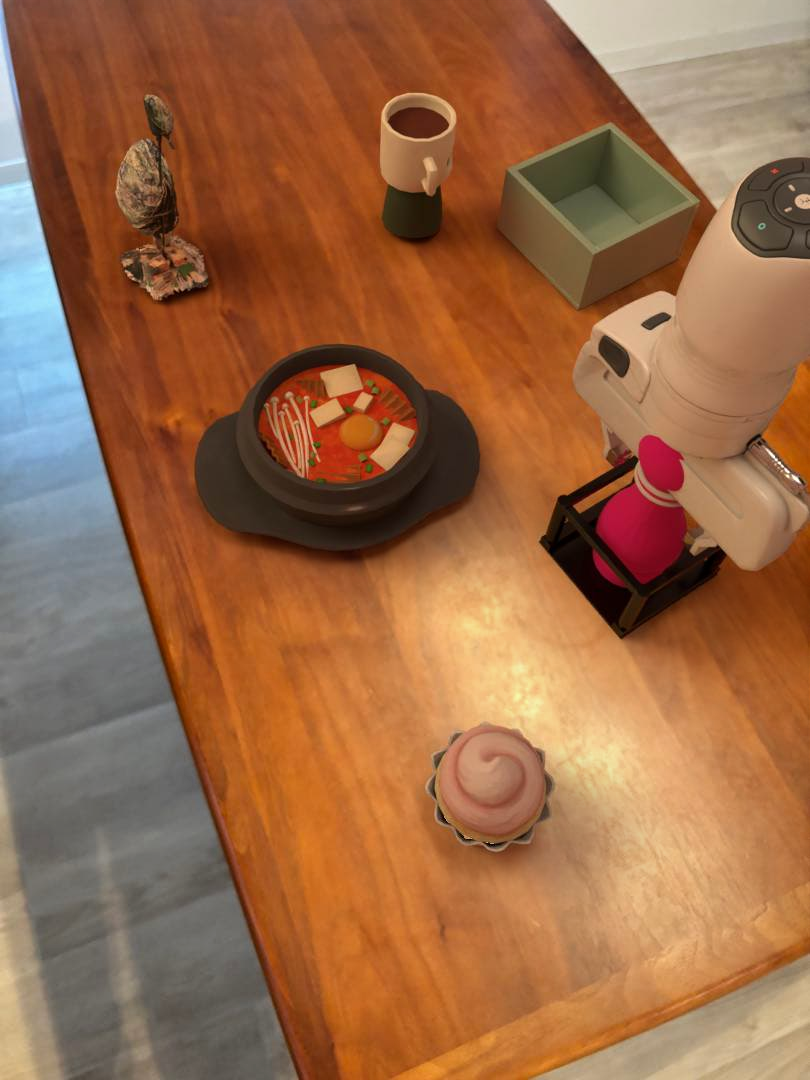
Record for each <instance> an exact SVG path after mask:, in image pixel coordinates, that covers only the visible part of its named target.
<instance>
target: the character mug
mask: <svg viewBox="0 0 810 1080" xmlns="http://www.w3.org/2000/svg"><path fill="white" fill-rule="evenodd" d="M456 129H457V113H456V110H455V109H454V108H453V106H452V105H451V104H450V103H449V102H448V101H447V100H444V99H443V98H441V97H439V96H437V95H435V94H429V93H425V92H407V93H403V94H400V95H396V96H395V97H393V98H392V99H391V100H389V101H388V102H387V103H386V104H385V106H384V107H383V109H382V111H381V116H380V145H379V146H380V147H379V167H380V175H381V176H382V178H383V179H384V181H386V184H387V188H386V192H385V196H384V202H383V206H382V213H381V220H382V223H383V227H385V229H386V230H387V231H389V232H390V233H391V234H392V235H394V236H399V237H401V238H405V239H423V238H427V237H431V236H434V235H435V234H436V233H437V232H438V231H439V230H440V229H441V226H442V223H443V197H442V187H441V186H442V184H443V183H444V182H445V181H446V180H448V178H449V177H450V174H452V173H451V172H452V171H453V170H452V169H453V148H454V145H455V142H456Z"/></svg>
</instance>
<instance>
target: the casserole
mask: <svg viewBox="0 0 810 1080" xmlns="http://www.w3.org/2000/svg"><path fill="white" fill-rule="evenodd" d="M480 465H481V450H480V444H479V439H478V436H477V434H476V431H475V429H474V426H473V424H472V422H471V420H470V418H469V416H468V415H467V414H466V412H465V411H464V410H463V408H462V407H461V406H460V405H459V404H458V403H457V402H456V401H455V400H454V399H452V397H450V396H448V395H446V394H445V393H442V392H440V391H437V390H433V389H427V388H424V386H423V385H422V384H421V383H420V382H419V381H418V380H417V379H416V378H415V377H414V375H413V374H412V373H411V372H410V371H409V370H408V369H407V368H406V367H405V366H404V365H402V364H401V363H399V362H398V361H396V360H395V359H394V358H392V357H391V356H389V355H386V354H384V353H383V352H381V351H380V352H379V351H377V350H375V349H372V348H369V347H364V346H361V345H358V344H349V343H348V344H347V343H327V344H326V343H325V344H320V345H314V346H309V347H305V348H303V349H300V350H298V351H294V352H292V353H290V354H289V355H287V356H285V357H284V358H281V359H280V360H278V361H276V362H275V363H274V364H273V365H272V366H271V367H269V368H268V369H267V370H266V371H265V372H264V373H263V375H262V376H261V377H260V378H259V379H258V380H257V381H256V382H255V384H254V385H253V386H252V388H250V390H249V391H248V393H247V394H246V396H245V398H244V400H243V402H242V404H241V405H240V408H239V410H237V411H235V412H233V413H230V414H228V415H225V416H223V417H220V418H218V419H216V420H215V421H214V422H213V423H212V424H210V425H209V426H208V427H207V428H206V429H205V431H204V432H203V434H202V436H201V438H200V440H199V443H198V445H197V448H196V453H195V457H194V479H195V484H196V488H197V492H198V496H199V498H200V500H201V502H202V504H203V506H204V509H205V510H206V512H207V513H208V514H209V515H210V516H211V518H212V519H213V520H214V521H215V522H216V523H217V524H219V526H220V525H221V526H222V527H224V528H226V529H227V530H229V531H231V532H238V533H246V534H255V535H262V536H269V537H274V538H277V539H281V540H283V541H287V542H291V543H293V544H298V545H301V546H303V547H307V548H310V549H316V550H323V551H324V550H325V551H334V552H337V551H339V552H340V551H348V550H349V551H351V550H353V551H354V550H355V551H356V550H360V549H364V548H369V547H373V546H377V545H380V544H382V543H385V542H387V541H389V540H391V539H394V538H397V537H398V536H399V535H401V534H403V533H404V532H406V531H407V530H409V529H410V528H411V527H413V526H414V525H415V524H417V523H418V522H420V521H421V520H422V519H424V518H425V517H426V516H428V515H430V514H431V513H434V512H436V511H438V510H440V509H442V508H445V507H447V506H450V505H452V504H454V503H455V502H457V501H459V500H461V499H463V498H465V497H466V496H467V495H468V494H469V493H470V492H471V491H472V490H473V488H474V487H475V486H476V482H477V480H478V477H479V473H480Z"/></svg>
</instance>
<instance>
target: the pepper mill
mask: <svg viewBox="0 0 810 1080" xmlns="http://www.w3.org/2000/svg"><path fill="white" fill-rule="evenodd" d="M638 457H639V461H638V463H637V465H636V467H635V469H634V470H633V471H634V472H633V473H634V474H633V476H634V477H635V483H634V484H633V485H632V486H630V487H628V488H626V489H624V490H622V491H620V492H618V493H617V494H616V495H615V496H614V497H613V498H611V499H610V500H609V501H608V502H607V504H606V505H605V507H604V508H603V510H602V512H601V514H600V516H599V518H598V521H597V528H596V530H597V534H598V535H599V536H600V537H601V538H602V540H603V541H604V542H605V543H606V544H607V545H608V546H609V548H610V549H611V550H612V551H613V552H614V553H615V554H616V556H617V557H618V558H619V559H620V560H621V561H622V562H623V564H624V565H625V566H626V567H627V568H628V569H629V570H630V572H631V573H632V574H633V575H634V576H635V577H636V578H637V580H638V581H639V582H640V583H641V584H646V583H647V582H649V581H650V580H652V579H653V578H655V577H657V576H658V575H660V574H661V573H663V571H664V569H665V568H667V567H669V566H670V565H671V564H673V563H674V562H675V561H676V559H677V558H678V557H679V555H680V554H681V552H682V550H683V547H684V544H683V543H682V539H684V536H685V534H686V533H687V532H688V526H687V517H686V512H685V509H684V508H683V506H682V505H681V504H680V503H679V502H678V501H677V500H676V499H675V498H674V497H673V496H672V495H671V494H670V493H669V491H668V490H671V491H679V490H680V489H681V488H682V486H683V483H684V470H683V467H682V464H681V462H680V460H683V461H685V460H684V458H683V456H682V455H681V453H680V452H678V451H676V450H674V449H673V448H671V447H670V446H668V445H667V444H665V443H664V442H663V441H662V440H661V439H660V438H659V437H656V436H654V435H646V436H644V437H643V438H642V439H641V441H640V442H639V446H638ZM593 560H594V563H595V565H596V567H597V569H598V570H599V572H600V573H601V574H602V575H603V577H604V578H606V579H607V580H609V581H610V582H611V583H613V584H615V585H618V586H620V587H623V588H627V587H626V586H625V585H624V584H623V583H622V581H621V580H620V579H619V578H618V577H617V576H616V574H615V573H614V572H613V571H612V570H611V569H610V568H609V566H608V565H607V564H606V563H605V562H604V561H603V559H602V558H601V557H600V556H599V555H598V554H597V553H596V551H595V550H594V549H593Z"/></svg>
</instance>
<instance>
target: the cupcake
mask: <svg viewBox="0 0 810 1080" xmlns="http://www.w3.org/2000/svg"><path fill="white" fill-rule="evenodd" d="M546 757H547V755H546V751H545V750H543V749H541V748H539V747H536V746H533V745H532V743H531V741H529V740H528V739H527V738H526V737H525V736H524V735H523V733H522V731H521V730H520V728H508V727H505V726H501V725H494V724H491V723H490V722H488V721H486V720H485V721H482V722H481V723H479V725H477V726H476V727H472V728H470V729H468V730H461V729H457V730H456V729H454V730H453V731H452V732H451V733H450V735H449V740H448V742H447V746H446V747H443V748H441V749H438V750H435V751H434V752H432V753H431V754H430V763H431V767H432V771H433V773H432V775H431V776H430V777H429V778H428V780H427V781H426V783H425V785H424V790H425V791H426V794H427V795H428V796H429V797H430V798H431V799H432V800H433V802H434V803H435V806H434V813H433V816H434V821H435V822H436V823H437V824H438V825H440V826H443V827H446V828H449V829H450V830H451V831H452V832H453V833H454V835H455V838H456V840H457V841H458V842H459V843H460V844H461V845H463V846H468V847H470V846H480V847H483V848H486V849H487V850H488V851H490V852H496V853H497V852H501V851H504V850H505V849H506V848H507V847H508V846H509V845H510V844H511V843H513V844H519V845H526V844H531V842H532V840H533V838H534V835H535V831H536V827H537V826H539V825H541V824H544V823H547V822H549V821H550V820H551V819H553V810H552V807H551V804H550V802H549V801H550V800H549V798H550V797H551V796H552V794H553V793H554V792H555V789H556V782H555V779H554V777H553V776H552V775H551V774H550V773H549V772H548V771H547V770H546V769H545V768H546ZM444 816H445V818H446V819H447V821H448V822H449V823H448V822H447V821H446V819H445V818H444ZM462 834H463V835H466V836H468V837H470V838H472V839H465V838H464V836H463V835H462ZM486 842H488V843H486ZM490 843H494V844H490Z"/></svg>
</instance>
